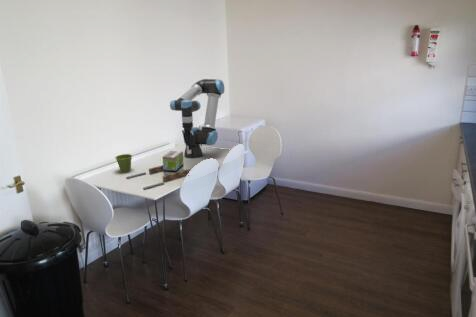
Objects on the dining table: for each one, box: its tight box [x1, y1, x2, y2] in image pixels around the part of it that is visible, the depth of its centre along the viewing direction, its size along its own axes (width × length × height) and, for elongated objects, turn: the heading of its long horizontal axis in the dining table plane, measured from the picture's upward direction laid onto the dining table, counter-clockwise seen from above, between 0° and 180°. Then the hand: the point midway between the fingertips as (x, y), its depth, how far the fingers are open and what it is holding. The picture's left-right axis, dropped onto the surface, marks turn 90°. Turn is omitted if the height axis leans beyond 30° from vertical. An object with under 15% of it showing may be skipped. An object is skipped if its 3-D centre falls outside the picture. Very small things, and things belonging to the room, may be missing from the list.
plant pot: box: [114, 153, 133, 173], centre depth 258 cm, size 12×12×11 cm
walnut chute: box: [148, 164, 191, 183], centre depth 250 cm, size 21×22×4 cm
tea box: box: [162, 150, 185, 176], centre depth 251 cm, size 15×10×15 cm
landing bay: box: [125, 172, 165, 191], centre depth 239 cm, size 14×28×1 cm, turn 40°
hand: (189, 153), depth 258 cm, fingers closed
